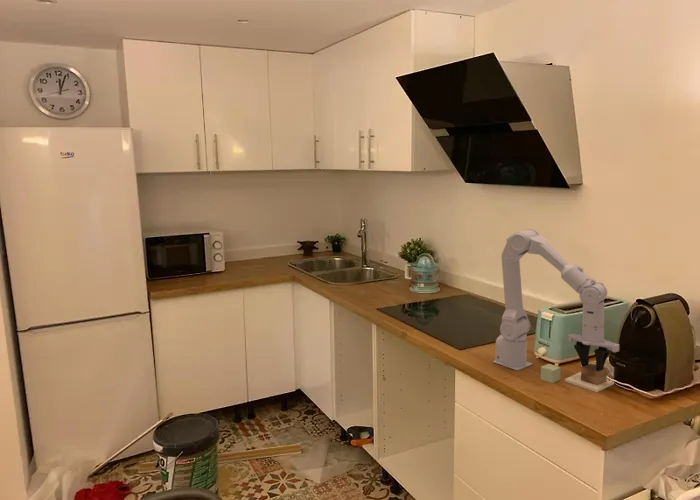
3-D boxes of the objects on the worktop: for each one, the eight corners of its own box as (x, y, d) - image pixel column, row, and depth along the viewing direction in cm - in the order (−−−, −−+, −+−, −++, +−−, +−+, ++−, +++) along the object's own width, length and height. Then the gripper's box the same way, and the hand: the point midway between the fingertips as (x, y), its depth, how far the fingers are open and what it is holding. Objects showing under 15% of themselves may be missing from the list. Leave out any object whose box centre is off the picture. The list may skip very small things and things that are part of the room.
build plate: (564, 381, 157) (564, 378, 157) (583, 372, 163) (583, 369, 163) (597, 392, 149) (597, 388, 149) (615, 383, 155) (615, 379, 154)
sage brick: (540, 379, 159) (540, 366, 159) (548, 376, 161) (548, 363, 161) (552, 383, 156) (552, 370, 155) (560, 380, 158) (560, 367, 158)
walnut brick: (580, 380, 155) (581, 367, 155) (590, 376, 158) (590, 363, 158) (597, 385, 151) (597, 372, 151) (606, 381, 154) (607, 368, 154)
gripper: (562, 322, 156) (562, 366, 158) (610, 332, 145) (609, 380, 147) (575, 317, 160) (575, 360, 162) (623, 327, 149) (622, 373, 151)
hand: (592, 369), depth 155 cm, fingers closed on walnut brick, 4 cm apart
